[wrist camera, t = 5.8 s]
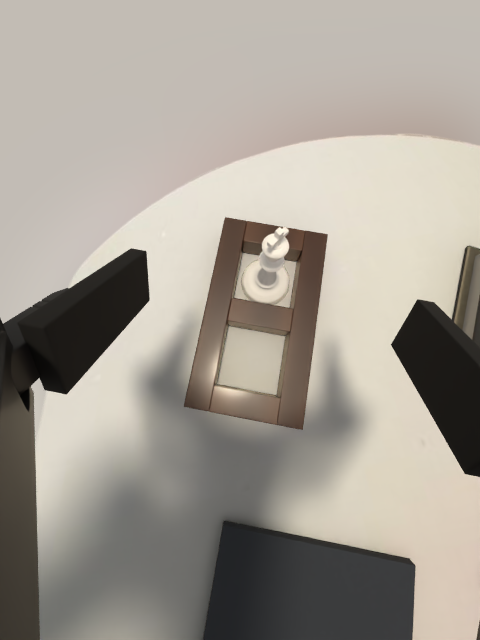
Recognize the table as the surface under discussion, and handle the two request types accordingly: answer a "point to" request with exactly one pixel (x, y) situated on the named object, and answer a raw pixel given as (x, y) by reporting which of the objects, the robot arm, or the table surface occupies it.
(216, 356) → the holder
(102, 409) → the table surface
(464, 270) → the book
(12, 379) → the robot arm
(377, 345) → the table surface
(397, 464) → the table surface
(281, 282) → the chess piece
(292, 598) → the mat
